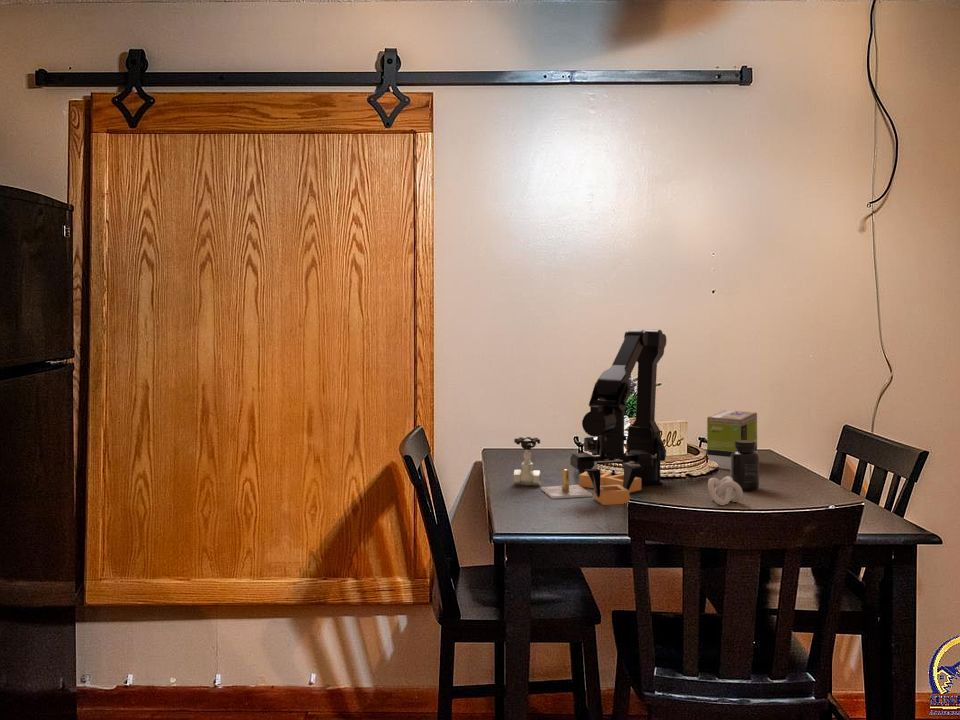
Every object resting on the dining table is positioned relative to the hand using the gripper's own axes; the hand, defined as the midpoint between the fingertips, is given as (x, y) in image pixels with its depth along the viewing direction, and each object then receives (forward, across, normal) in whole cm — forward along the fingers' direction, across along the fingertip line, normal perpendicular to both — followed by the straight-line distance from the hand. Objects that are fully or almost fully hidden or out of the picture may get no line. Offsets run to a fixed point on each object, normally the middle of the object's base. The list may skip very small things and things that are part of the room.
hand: (611, 495), depth 190 cm
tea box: (+2, -49, -31) cm, 58 cm away
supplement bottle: (+2, -37, -4) cm, 37 cm away
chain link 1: (+1, -2, -16) cm, 16 cm away
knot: (+2, -25, +7) cm, 26 cm away
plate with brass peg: (+1, +8, -10) cm, 13 cm away
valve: (+1, +15, -20) cm, 25 cm away
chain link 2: (+1, -7, -10) cm, 12 cm away
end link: (+1, 0, 0) cm, 1 cm away
